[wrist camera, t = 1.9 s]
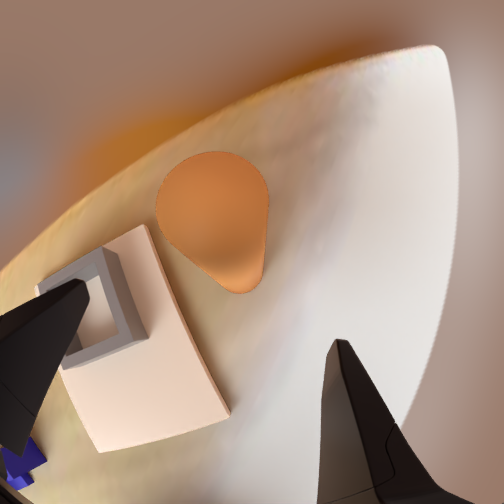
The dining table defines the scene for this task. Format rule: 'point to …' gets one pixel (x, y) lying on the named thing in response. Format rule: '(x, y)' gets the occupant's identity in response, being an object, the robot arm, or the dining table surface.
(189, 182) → the toggle bar
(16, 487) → the cable clip
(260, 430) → the dining table surface
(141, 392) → the keeper plate
